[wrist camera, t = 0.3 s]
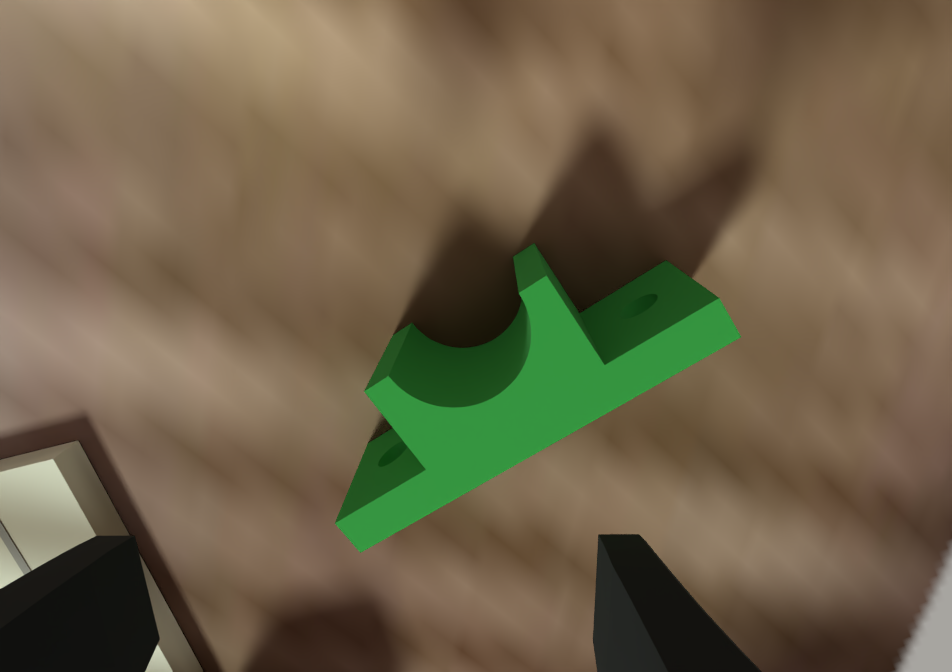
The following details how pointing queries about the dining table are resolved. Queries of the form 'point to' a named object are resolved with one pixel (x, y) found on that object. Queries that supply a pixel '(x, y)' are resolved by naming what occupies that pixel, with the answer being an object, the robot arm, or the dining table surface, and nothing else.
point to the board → (71, 530)
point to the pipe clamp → (519, 388)
